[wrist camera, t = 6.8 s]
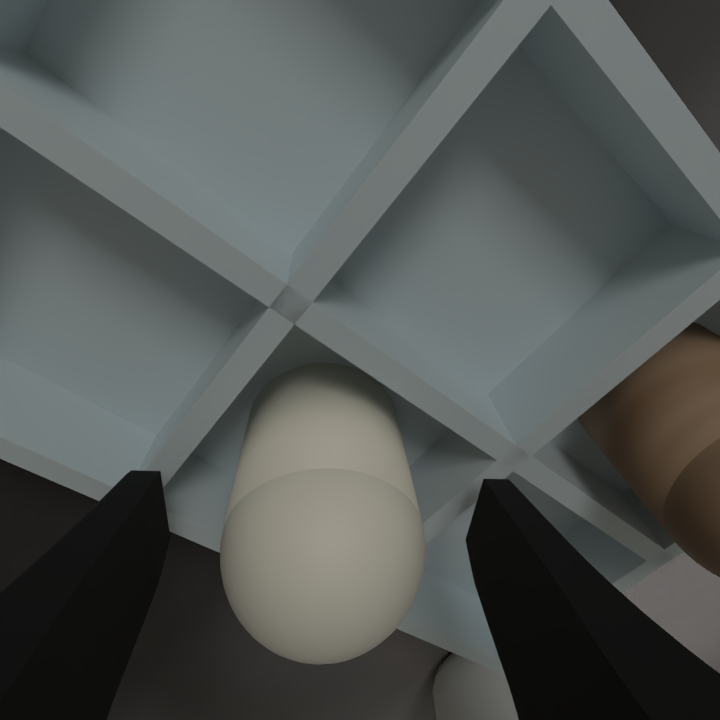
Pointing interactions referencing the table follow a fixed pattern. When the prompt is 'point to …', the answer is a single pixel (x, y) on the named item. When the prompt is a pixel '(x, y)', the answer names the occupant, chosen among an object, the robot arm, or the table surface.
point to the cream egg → (322, 518)
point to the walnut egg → (670, 439)
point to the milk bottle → (471, 692)
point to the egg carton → (347, 250)
